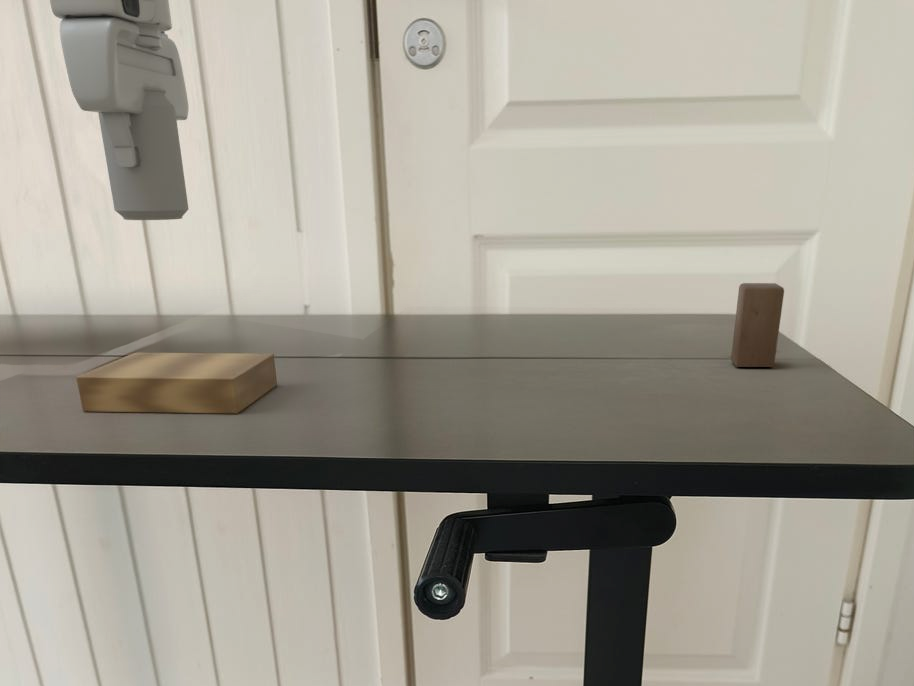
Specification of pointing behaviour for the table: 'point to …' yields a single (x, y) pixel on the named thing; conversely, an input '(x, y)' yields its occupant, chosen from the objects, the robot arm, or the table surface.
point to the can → (149, 164)
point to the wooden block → (757, 324)
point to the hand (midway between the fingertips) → (146, 167)
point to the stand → (178, 383)
